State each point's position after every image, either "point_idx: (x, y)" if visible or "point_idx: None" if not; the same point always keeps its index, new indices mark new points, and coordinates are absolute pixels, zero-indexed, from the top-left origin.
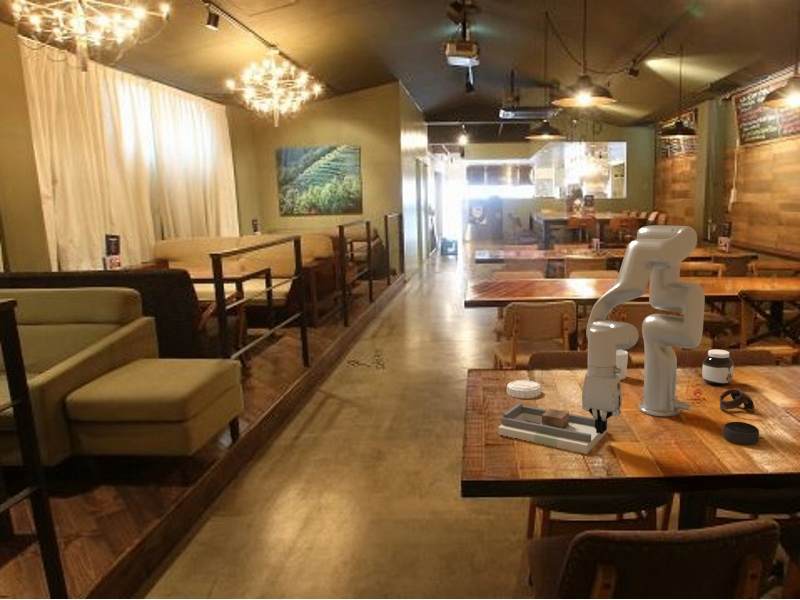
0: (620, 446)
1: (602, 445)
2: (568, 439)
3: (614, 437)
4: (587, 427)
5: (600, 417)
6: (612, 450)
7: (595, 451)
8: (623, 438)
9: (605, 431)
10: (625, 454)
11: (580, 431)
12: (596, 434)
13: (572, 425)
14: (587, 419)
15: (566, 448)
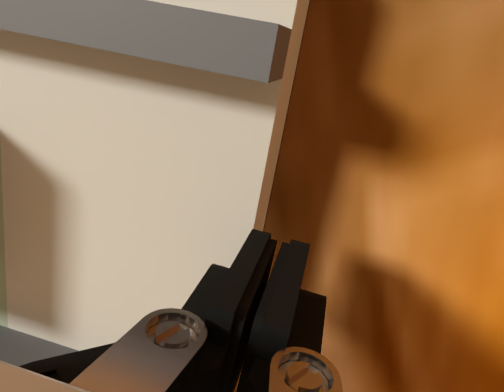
0: (448, 259)
1: (305, 270)
2: None
3: (395, 72)
4: (130, 117)
5: (220, 374)
6: (384, 339)
7: None
8: (486, 69)
9: (303, 11)
10: (482, 388)
11: (102, 231)
12: None
13: (2, 109)
14: (75, 43)
15: None
